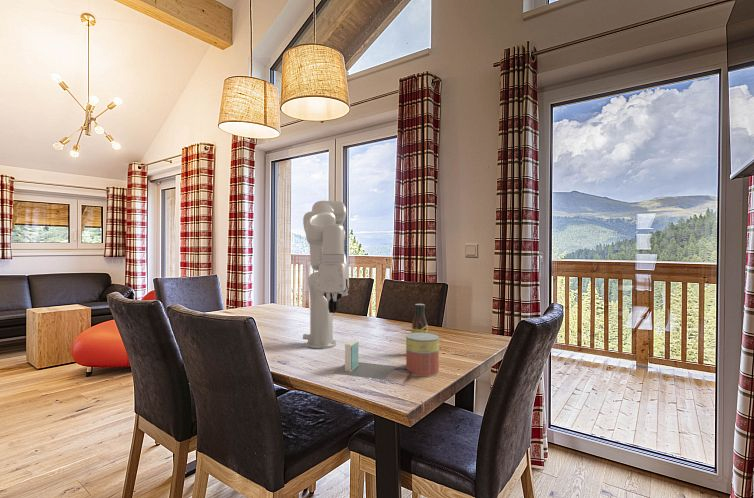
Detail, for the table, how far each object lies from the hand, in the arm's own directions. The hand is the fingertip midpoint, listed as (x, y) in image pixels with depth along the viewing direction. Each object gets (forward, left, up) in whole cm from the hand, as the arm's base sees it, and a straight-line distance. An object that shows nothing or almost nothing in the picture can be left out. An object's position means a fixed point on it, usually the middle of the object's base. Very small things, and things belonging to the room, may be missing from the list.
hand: (333, 312), depth 133 cm
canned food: (+30, +8, -20) cm, 37 cm away
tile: (+7, 0, -19) cm, 20 cm away
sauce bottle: (+25, +27, -20) cm, 42 cm away
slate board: (+12, 0, -20) cm, 23 cm away
